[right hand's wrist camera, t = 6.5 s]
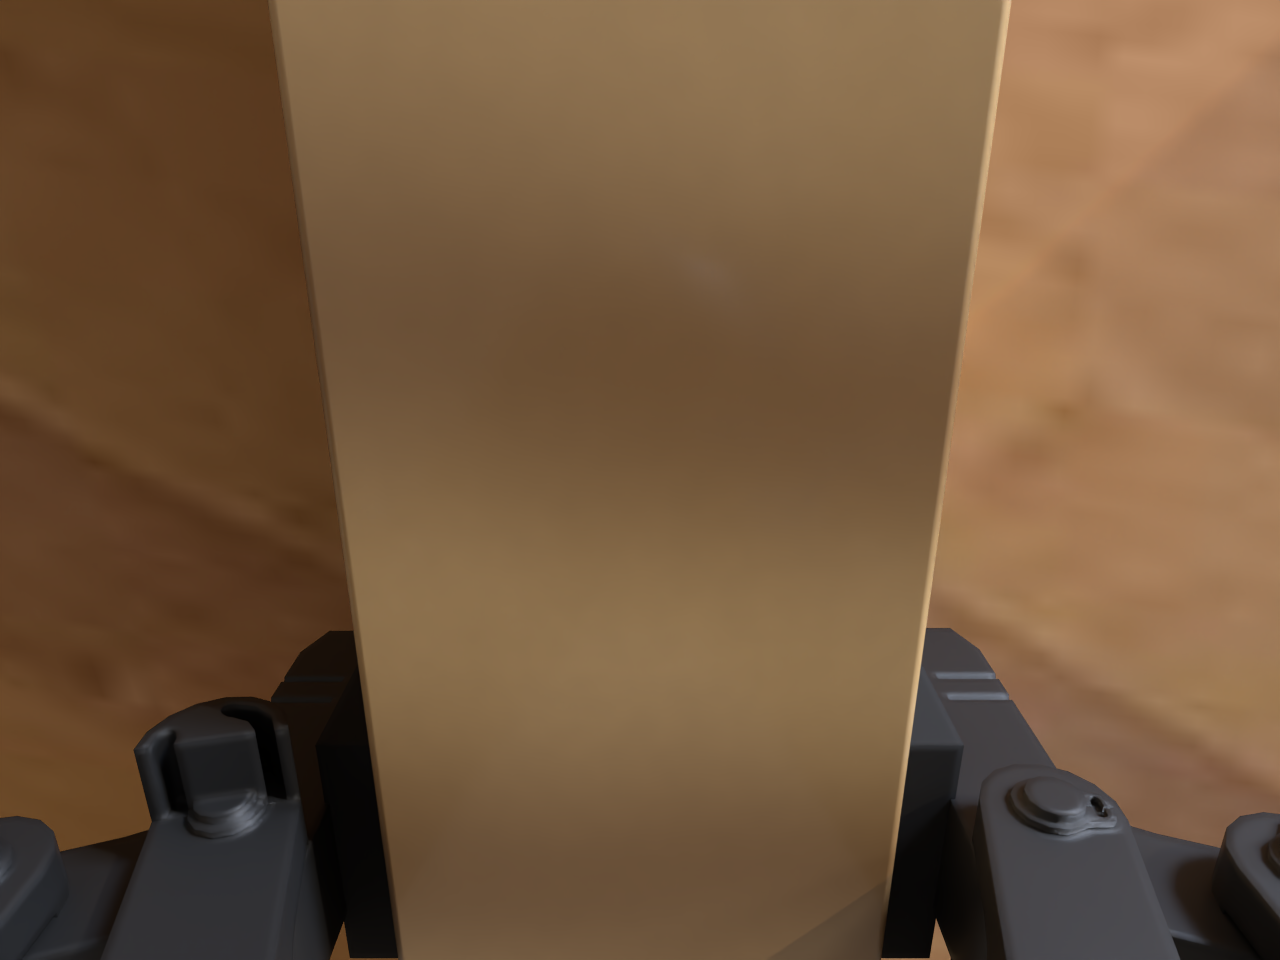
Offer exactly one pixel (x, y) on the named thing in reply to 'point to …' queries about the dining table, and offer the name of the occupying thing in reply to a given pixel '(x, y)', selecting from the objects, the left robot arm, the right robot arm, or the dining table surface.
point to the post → (639, 445)
